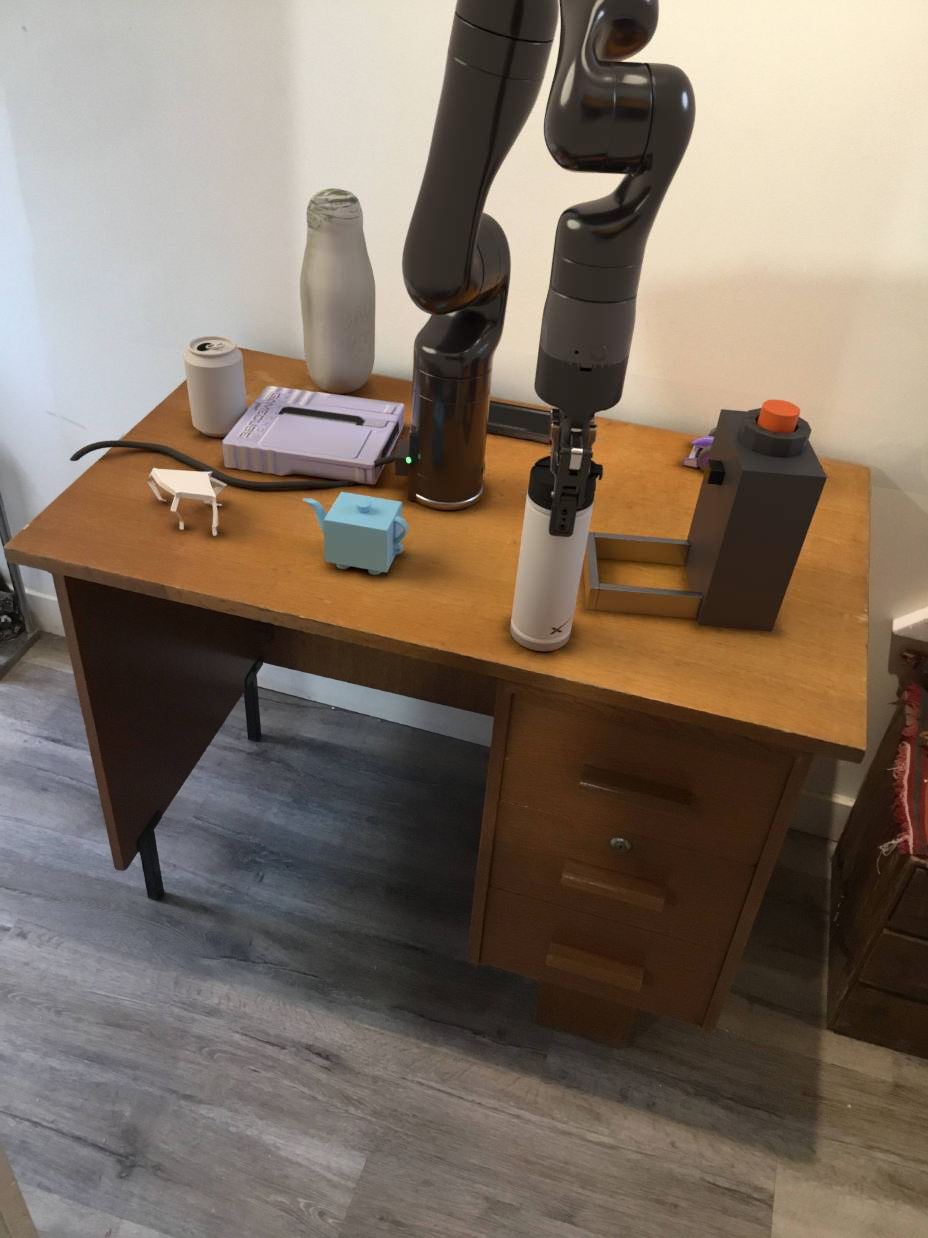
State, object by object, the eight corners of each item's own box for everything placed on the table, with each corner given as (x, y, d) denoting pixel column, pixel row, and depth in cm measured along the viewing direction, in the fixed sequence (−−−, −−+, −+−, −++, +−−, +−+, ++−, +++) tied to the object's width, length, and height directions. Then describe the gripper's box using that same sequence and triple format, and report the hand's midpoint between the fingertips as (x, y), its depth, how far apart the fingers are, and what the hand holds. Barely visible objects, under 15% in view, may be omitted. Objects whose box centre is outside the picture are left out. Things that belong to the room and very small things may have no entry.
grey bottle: (336, 369, 142) (331, 175, 125) (387, 388, 138) (389, 191, 121) (292, 389, 136) (280, 188, 118) (344, 410, 132) (339, 204, 114)
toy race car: (693, 440, 131) (704, 399, 127) (799, 466, 127) (813, 423, 123) (680, 470, 124) (690, 426, 120) (791, 497, 120) (806, 453, 116)
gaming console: (266, 384, 129) (405, 401, 127) (268, 408, 131) (404, 426, 129) (219, 442, 115) (374, 463, 113) (222, 468, 117) (374, 489, 115)
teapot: (296, 563, 102) (292, 505, 97) (314, 534, 107) (311, 478, 102) (399, 581, 100) (401, 524, 96) (413, 551, 105) (415, 495, 100)
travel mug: (569, 658, 92) (600, 486, 79) (505, 646, 93) (526, 474, 80) (575, 620, 97) (606, 453, 84) (514, 609, 98) (536, 442, 85)
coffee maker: (697, 625, 98) (748, 450, 85) (682, 556, 108) (725, 390, 95) (772, 631, 98) (834, 458, 85) (749, 562, 108) (802, 397, 95)
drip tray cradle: (586, 609, 99) (610, 483, 89) (581, 552, 107) (603, 430, 97) (696, 619, 99) (732, 493, 89) (683, 561, 107) (715, 440, 97)
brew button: (761, 433, 88) (766, 413, 87) (754, 416, 91) (759, 397, 90) (798, 436, 88) (804, 417, 87) (789, 419, 91) (795, 400, 90)
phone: (475, 397, 135) (575, 415, 132) (475, 404, 136) (573, 422, 133) (461, 420, 129) (565, 439, 126) (460, 427, 130) (564, 446, 127)
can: (204, 411, 129) (194, 328, 121) (256, 418, 128) (248, 335, 121) (184, 436, 123) (172, 350, 115) (238, 442, 122) (229, 357, 115)
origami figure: (251, 507, 110) (247, 471, 107) (215, 542, 104) (211, 506, 101) (163, 486, 113) (157, 450, 110) (124, 520, 106) (116, 483, 103)
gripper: (539, 307, 81) (520, 472, 91) (540, 374, 69) (518, 554, 80) (623, 314, 81) (594, 479, 91) (638, 382, 69) (603, 561, 80)
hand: (559, 513), depth 86 cm, fingers closed on travel mug, 6 cm apart
